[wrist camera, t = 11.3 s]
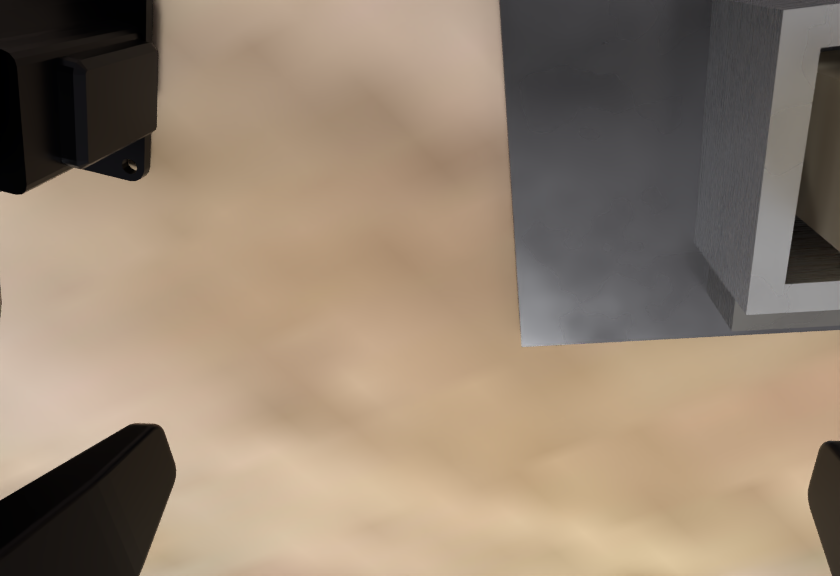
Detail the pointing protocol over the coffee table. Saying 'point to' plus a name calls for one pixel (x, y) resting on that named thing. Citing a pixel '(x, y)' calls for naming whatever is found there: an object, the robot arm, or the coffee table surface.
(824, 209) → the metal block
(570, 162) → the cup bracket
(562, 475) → the coffee table surface
